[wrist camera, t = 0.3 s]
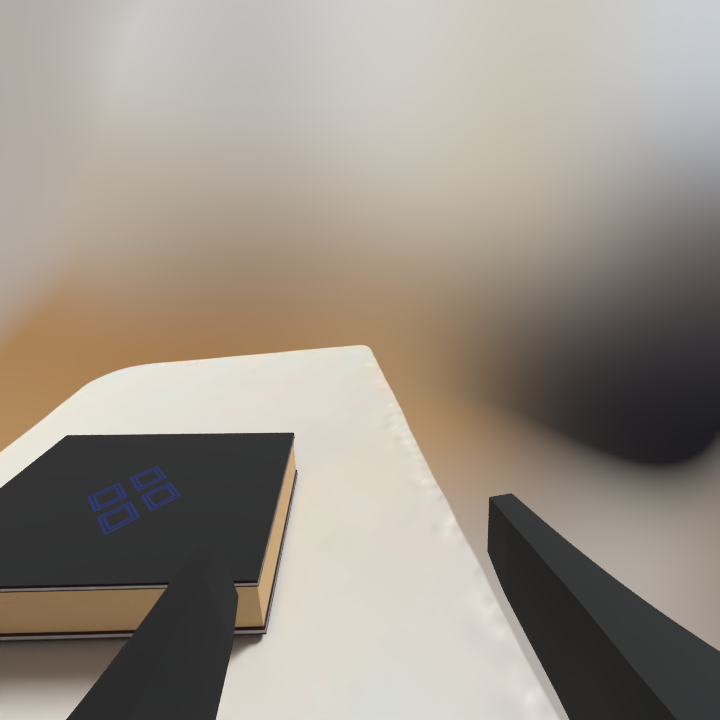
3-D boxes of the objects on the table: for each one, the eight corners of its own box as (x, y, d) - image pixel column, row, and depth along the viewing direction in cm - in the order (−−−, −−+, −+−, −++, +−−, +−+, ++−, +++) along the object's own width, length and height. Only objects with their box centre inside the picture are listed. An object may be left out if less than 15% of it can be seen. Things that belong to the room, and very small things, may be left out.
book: (84, 482, 42) (66, 434, 39) (298, 478, 42) (294, 432, 40) (-81, 650, 26) (-129, 589, 23) (266, 641, 26) (257, 580, 24)
